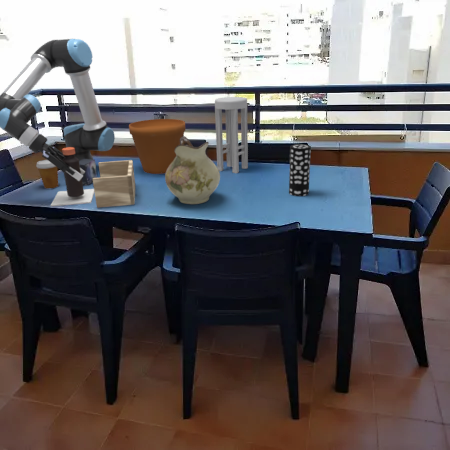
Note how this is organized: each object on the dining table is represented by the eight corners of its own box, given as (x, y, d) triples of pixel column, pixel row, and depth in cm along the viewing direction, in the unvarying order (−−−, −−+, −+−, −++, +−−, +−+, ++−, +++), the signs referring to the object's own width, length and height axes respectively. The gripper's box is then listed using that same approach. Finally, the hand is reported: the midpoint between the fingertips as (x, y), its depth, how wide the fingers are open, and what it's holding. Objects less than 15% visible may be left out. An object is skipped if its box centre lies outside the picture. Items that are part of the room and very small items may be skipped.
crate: (102, 187, 202) (98, 162, 197) (135, 185, 204) (132, 159, 199) (96, 207, 177) (92, 179, 172) (134, 204, 179) (131, 176, 175)
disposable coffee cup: (66, 184, 208) (62, 160, 203) (51, 190, 200) (46, 165, 195) (51, 182, 212) (46, 158, 207) (36, 188, 204) (31, 163, 199)
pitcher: (200, 212, 168) (197, 147, 159) (153, 202, 180) (147, 142, 171) (230, 195, 186) (229, 137, 177) (186, 188, 198) (182, 132, 188)
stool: (253, 167, 226) (252, 97, 213) (237, 174, 214) (236, 101, 201) (227, 164, 234) (226, 96, 221) (211, 171, 222) (208, 100, 209)
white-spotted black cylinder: (296, 197, 181) (298, 149, 173) (285, 192, 188) (286, 146, 180) (312, 194, 185) (315, 147, 177) (300, 188, 191) (302, 143, 184)
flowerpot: (165, 159, 247) (161, 117, 238) (199, 167, 229) (196, 122, 220) (123, 170, 229) (117, 124, 220) (156, 179, 211) (151, 130, 202)
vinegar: (79, 190, 191) (72, 145, 183) (87, 194, 187) (79, 148, 179) (64, 194, 187) (56, 148, 179) (72, 198, 183) (64, 151, 175)
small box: (88, 186, 205) (84, 164, 201) (75, 185, 206) (71, 164, 202) (98, 179, 214) (95, 158, 210) (86, 179, 215) (82, 158, 211)
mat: (58, 192, 196) (58, 191, 196) (95, 189, 199) (94, 188, 199) (50, 206, 180) (50, 205, 180) (90, 203, 182) (90, 201, 182)
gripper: (33, 142, 185) (79, 176, 194) (22, 152, 168) (73, 189, 177) (44, 129, 184) (89, 164, 193) (34, 137, 167) (85, 175, 175)
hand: (82, 176), depth 185 cm, fingers closed on vinegar, 6 cm apart
